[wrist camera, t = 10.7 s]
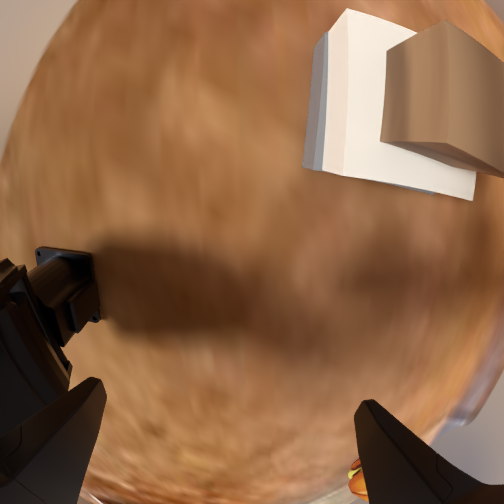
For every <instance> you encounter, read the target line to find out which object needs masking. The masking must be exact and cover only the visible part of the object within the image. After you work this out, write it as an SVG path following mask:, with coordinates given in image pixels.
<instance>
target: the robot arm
mask: <svg viewBox="0 0 504 504" xmlns="http://www.w3.org/2000/svg"><path fill="white" fill-rule="evenodd" d="M40 253H41V254H40ZM35 255H36V261H37V267H35V268H34V269H33V270H31V271H30V272H28V273H27V269H26V266H25V265H20V266H15V265H14V264H13V263H12V262H11V261H10V260H9V259H8V258H6V259H3V260H1V261H0V504H77V501H78V497H79V494H80V490H81V487H82V483H83V480H84V477H85V473H86V470H87V467H88V464H89V461H90V458H91V455H92V452H93V449H94V446H95V443H96V440H97V437H98V434H99V430H100V425H101V421H102V416H103V412H104V408H105V404H106V400H107V394H106V391H105V388H104V385H103V383H102V381H101V379H98V378H95V377H89V378H87V379H86V380H84V381H83V382H81V383H80V384H79V385H77V386H76V387H74V388H73V389H71V390H70V391H68V389H69V384H70V376H71V372H72V367H73V366H72V364H71V363H70V361H69V360H67V358H66V356H65V355H64V353H63V351H62V349H61V347H65V345H66V344H67V343H68V341H69V340H70V339H71V337H72V336H73V335H74V334H75V333H79V332H80V331H81V330H82V329H83V327H84V326H85V325H86V323H87V322H88V321H90V322H94V323H98V322H99V321H100V319H101V315H100V309H99V307H100V304H99V297H98V291H97V283H96V280H95V276H94V267H93V259H92V256H91V255H90V254H88V253H81V252H74V251H66V250H59V249H52V248H45V247H39V248H37V249H36V251H35ZM85 258H87V260H88V262H87V261H86V259H85ZM94 316H95V317H96V318H95V317H94ZM60 346H61V347H60ZM354 423H355V430H356V439H357V447H358V454H359V459H360V463H361V467H362V472H363V476H364V481H365V485H366V490H367V494H368V499H369V504H504V485H503V484H502V485H488V484H484V483H482V482H480V481H478V480H476V479H475V478H473V477H471V476H470V475H468V474H466V473H464V472H463V471H461V470H459V469H458V468H457V467H455V466H453V465H452V464H451V463H449V462H448V461H447V460H446V459H444V458H443V457H442V456H440V455H439V454H438V453H437V454H436V452H435V451H434V450H433V449H432V448H431V447H429V446H428V445H427V444H426V443H425V442H423V441H422V440H421V439H420V438H419V437H417V436H416V435H415V434H414V433H413V432H412V431H410V430H409V429H408V428H407V427H406V426H404V425H403V424H402V423H401V422H400V421H399V420H397V419H396V418H395V417H394V416H393V415H392V414H390V413H389V412H388V411H387V410H386V409H385V408H383V407H382V406H381V405H380V404H379V403H378V402H377V401H375V400H373V399H369V400H363V401H362V402H361V404H360V406H359V407H358V409H357V411H356V412H355V415H354Z"/></svg>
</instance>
